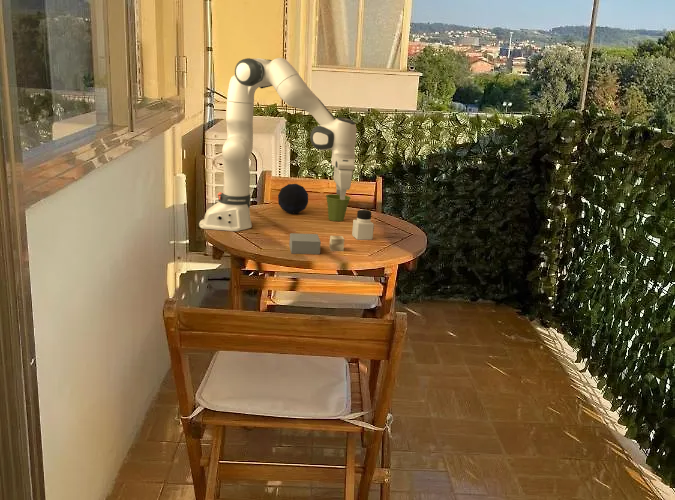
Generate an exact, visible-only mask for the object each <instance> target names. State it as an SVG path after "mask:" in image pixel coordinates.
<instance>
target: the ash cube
mask: <svg viewBox="0 0 675 500" xmlns="http://www.w3.org/2000/svg"><path fill="white" fill-rule="evenodd" d="M328 245H329V246H328V248H329V250H330V252H344V250H345V248H344V247H345V238H344V236H343V235H329V244H328Z"/></svg>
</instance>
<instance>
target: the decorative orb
mask: <svg viewBox="0 0 675 500" xmlns="http://www.w3.org/2000/svg"><path fill="white" fill-rule="evenodd" d="M277 197H278V199H277V201H278V205H279V206H280V208H281V209H282V211H283V212H286V213H288V214H290V215H294V214H299V213H301V212H303V211H304V210H306V207H307V206H308V204H309V193H308V192H307V190H306V189H305V187H304V186H303V185H300V184H298V183H288V184H286V185H285V186H283V187H282V188H281V189H280V190H279V192H278V196H277Z"/></svg>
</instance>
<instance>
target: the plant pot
mask: <svg viewBox="0 0 675 500" xmlns="http://www.w3.org/2000/svg"><path fill="white" fill-rule="evenodd" d="M325 197H326V202H327V216H328V220H329V221H332V222H343V221H345V216H346V212H347V208H348V206H349V203H350V200H351V198H352V197H350V196H348V195H345V199H344V200H341V199H340V195H338V194H337V193H334V194H333V193H330V194H329V193H328V194H325Z"/></svg>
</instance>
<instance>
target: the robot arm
mask: <svg viewBox="0 0 675 500" xmlns="http://www.w3.org/2000/svg"><path fill="white" fill-rule="evenodd" d="M269 87H273V89H274V90H275V92H276V94H278V96H279V98H280V99H281V100H282V101H283V102H284V103H285V104H286V105H288V106H290V107H293V108H297V109H300V110H302V111H306V112H307V113H309V114H310V116H312V117H313V118H314V119H315V121H316V122H317V124H318V125H317V126H315V127H314V128H313V129H312V130H311V132H310V134H309V135H310V136H309V137H310V138H309V139H310V140H309V141H310V142H311V146H313V148H314V149H315V150H319V151H329V150H331V162H330V163H331V166H333V169H334V170H333V181H334V183H335V186H336V188H335V189H336V191H335V194H338V195H340V199H341V200H344V199H345V196H346V194H347V191H348V190H350V189H351V186H352V179H353V170H355V167H356V166H355V165H356V164H355V162H356V161H355V159H356V151H355V147H356V143H357V126H356V122H355V121H354V120H352V119H350V118H347V117H341V116H339V117H336V118H335V117H334V116H333V114H332V113H331V112H330V111H329V109H328V108H327V107H326V106H325V104H324V103H323V102H322V100H321V99H320V98H318V96H317V95H316V94H315V93H314V92H313V91H312V89H311V88H310V87H309V86H308V85H307V84H306V82H305V81H304V79H303V78H302V77H301V75H300V74H299V72H298V71H297V70H296V69H295V67H294V66H293V65H292V64H291V63H290V62H289V61H288V60H287V59H286V58H283V57H276V58H274V59H272V60H271V59H266V58H260V57H256V58H250V57H249V58H248V57H247V58H243V59H241V60H239V61H238V62H237V63H236V65H235V67H234V74H233V75H232V76H231V77H230V79H229V83H228V87H227V94H226V95H227V96H226V112H225V123H226V140H225V142H224V143H223V144H222V148H221V149H222V150H221V156H222V159H221V160H222V169H223V192H218V193H217V197H218V199H217V200H218V202H216V203H215V204H213V205H212V206H210V207H209V208H207V210H206V212H205V214H204V218H203V219H201V220H200V221H199V223H198V226H199V228H201V229H204V230H205V229H206V230H217V231H228V232H229V231H230V232H239V231H242V230H247V229H251V228H252V227H253V224H252V220H251V212H250V210H251V209H250V207H251V194H250V191H251V190H250V187H251V185H250V184H251V182H250V181H251V175H250V172H251V171H250V156H251V154H252V153H253V150H254V149H253V146H254V145H253V143H254V120H253V119H254V108H255V107H254V105H255V103H254V102H255V92H256V90H258V89H265V88H269Z"/></svg>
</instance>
